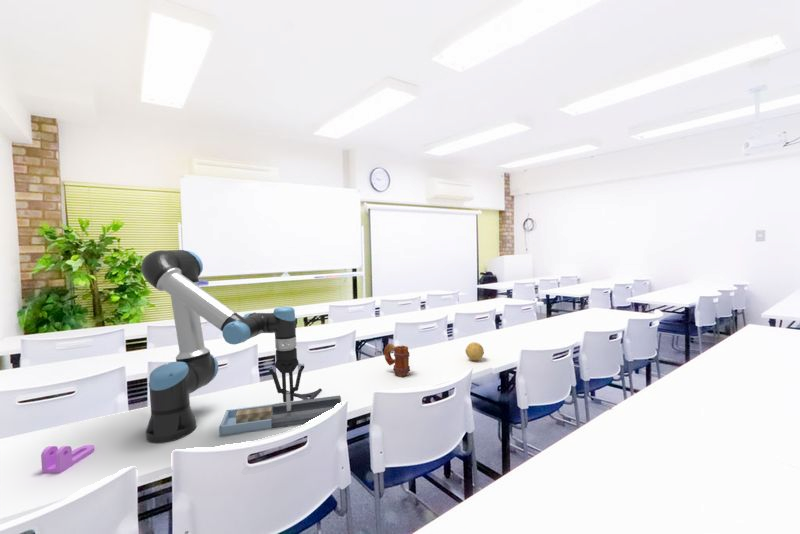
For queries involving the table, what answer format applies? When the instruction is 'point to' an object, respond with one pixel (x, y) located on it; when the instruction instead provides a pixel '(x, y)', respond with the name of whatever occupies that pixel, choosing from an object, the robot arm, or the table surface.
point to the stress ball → (474, 351)
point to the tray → (230, 426)
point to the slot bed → (301, 411)
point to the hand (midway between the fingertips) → (288, 409)
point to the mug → (398, 359)
